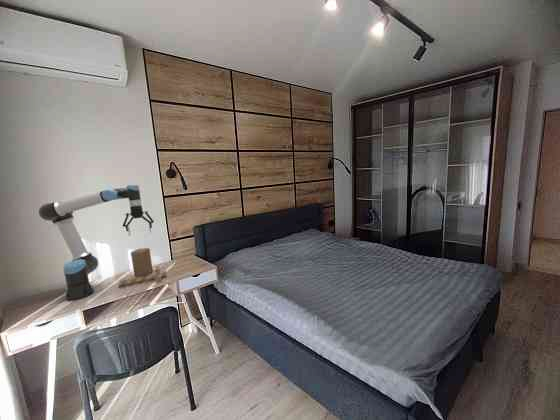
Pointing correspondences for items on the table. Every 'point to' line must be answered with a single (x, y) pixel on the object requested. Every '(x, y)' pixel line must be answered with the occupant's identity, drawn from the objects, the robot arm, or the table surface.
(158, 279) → the gauge
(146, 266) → the wooden block
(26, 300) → the table surface
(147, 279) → the board
